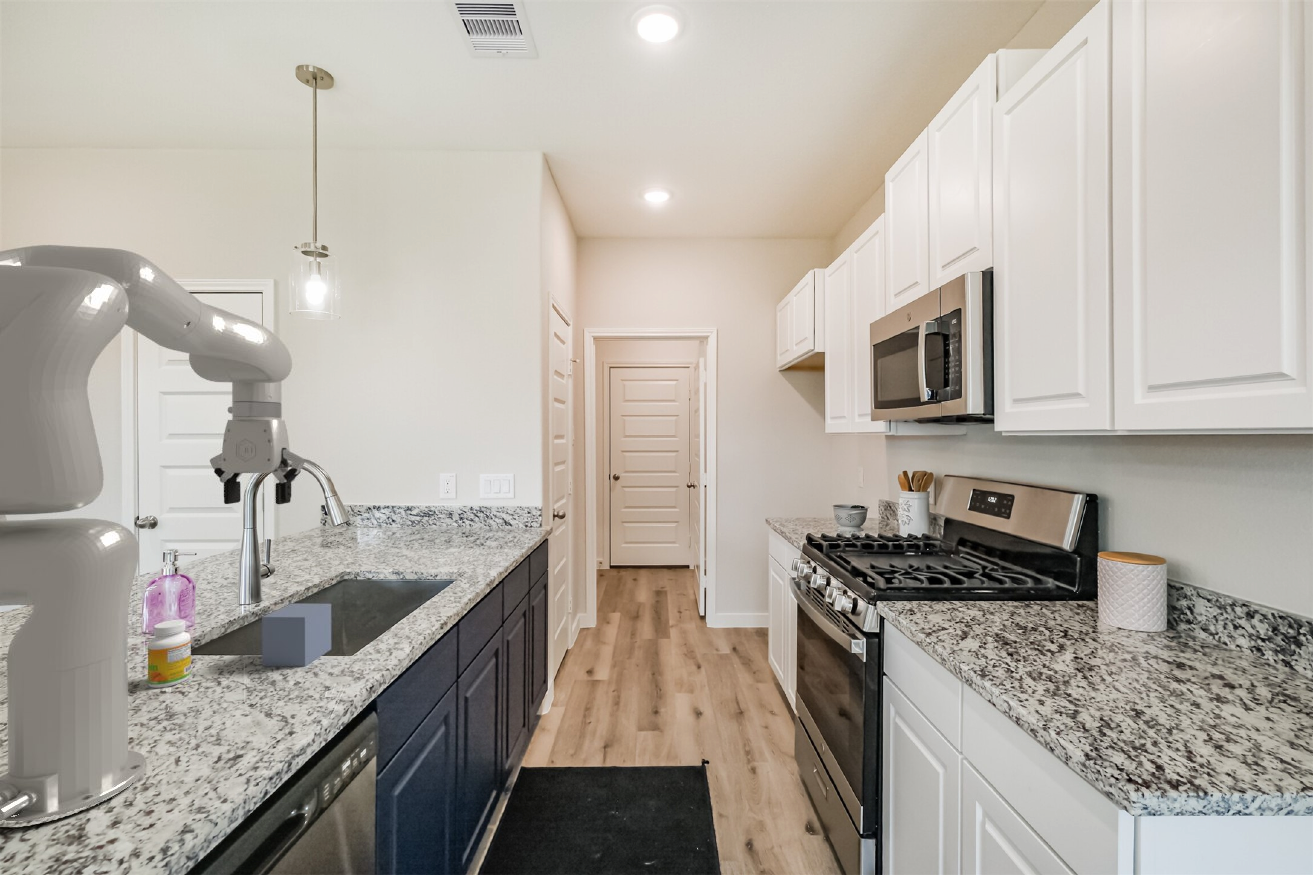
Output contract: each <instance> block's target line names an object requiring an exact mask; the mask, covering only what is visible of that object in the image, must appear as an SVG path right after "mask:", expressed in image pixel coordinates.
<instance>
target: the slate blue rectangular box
mask: <svg viewBox="0 0 1313 875" xmlns="http://www.w3.org/2000/svg"><path fill="white" fill-rule="evenodd" d="M261 635H262V636H261V639H262V641H261V642H262V643H261V648H262V651H261V654H262V655H261V656H262V658H261V665H262V667H307V666H308V665H310V664H311V663H313V662H314V661H317V659H319V658H321V657H322V656H324V655H325V654H326V653H328V652H329V651H331V650H332V603H290V604H287V605H285V606H283V607H281V608H279V609H276V610H274V611H272V612H270V613H268V614H266V615H263V616H261Z"/></svg>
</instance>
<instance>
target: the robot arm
mask: <svg viewBox="0 0 1313 875" xmlns="http://www.w3.org/2000/svg"><path fill="white" fill-rule="evenodd" d="M125 326H127V327H128V328H131V329H133V331H136V332H137V333H138V334H140V335H141V336H144V337H146V338H147V339H148V340H150V341H152V342H154V343H155V344H156V345H158V346H160V347H162V348H165V349H167V350H168V349H169V350H172V351H176V352H180V353H185V354H189V355H188V362H189V365H190V367H191V370H193V372H194V373H195V374H196V375H197V376H199V377H200V378H201V379H204V380H207V381H209V382H214V383H231V388H232V389H231V390H232V391H231V397H232V398H231V400H232V401H231V403H232V404H231V406H229V407H227V412H228V414H232V416H231V417H232V419H227V422H226V424H225V429H224V433H223V440H222V449H221V453H218V454H217V455H215V456H213V457H212V458H210V459H209V462H210V464H211V467H212V469H213V473H214V474H215V475H216V477H218V478H219V482H220V483H222V484H223V503H224V505H230V504H237V503H238V504H239V503H240V502H241V500H242V499H241V481H238V480H239V478H240V477H241V476H242V474H268V473H271V474H272V475H273V476H274V477H275V478H276V479H277V480H276V481H278V482H276V484H275V504H276V505H283V504H289V503H291V501H292V500H291V499H292V482H294V481H296V477H298V476H299V474H300V473H301V471H302V469H303V467H304V464H305V463H306V460H305V458H303V457H302V456H299V455H297V454H296V453H294V452H292V451H290V442H289V434H288V430H287V425H286V422H285V420H283V419H282V415H283V412H282V410H283V408H282V381H284V380H286V379H287V377H289V375H290V374H291V371H292V368H293V361H292V360H293V359H292V356H291V354H290V351H289V349H288V348H287V346H286V345H285V344H284V342H283V341H282V340H281V339H280V338H279V337H278V336H277V335H276V334H275V333H273V331H271V330H269V328H267V327H265V326H264V325H262V324H260V323H259V322H255V321H254V320H251V319H249V318H246V317H243V316H240V315H237V314H235V313H232V312H230V311H226V310H224V309H222V308H219V307H216V306H213V305H209V304H207V303H205V302H202V301H201V300H199V299H198V298H197V297H195V295H193V294H192V293H190V292H189V291H188V290H187V289H185V288H184V287H183V286H181V285H180V284H179V283H178V282H177V281H176V280H175V279H174V278H172V277H171V276H170V275H168V274H167V273H166V272H165V271H163V270H162V269H161V268H159V267H158V265H156V264H155V263H153V261H151V260H149V259H148V258H146V257H145V256H142V255H140V254H139V253H136V252H133V251H130V250H126V249H118V248H111V247H109V248H108V247H96V246H95V247H93V246H77V245H76V246H73V245H72V246H71V245H58V244H57V245H56V244H41V245H40V244H39V245H32V246H31V245H30V246H23V247H19V248H18V247H17V248H13V249H6V250H0V607H2V606H3V607H4V606H33V610H32V612H31V614H29V616H28V617H27V619H26V620H25V622H24V623H23V624H22V625H21V627H20V628H19V629H18V631H17V632H16V633H15V634H14V636H13V637H12V639H11V641H10V644H9V646H8V650H7V655H6V656H7V657H6V672H7V674H6V680H7V684H6V685H7V686H6V687H7V691H6V694H7V695H6V696H7V698H6V700H7V772H6V773H5V774H3V775H1V776H0V821H2V820H6V821H27V820H35V819H40V818H43V817H44V818H45V817H51V816H53V815H60V814H65V813H66V812H70V811H74V810H75V809H80V808H83V807H85V806H88V805H92V804H94V803H97V802H98V801H101V800H103V799H105V798H107V797H109V796H111V795H113V794H115V793H117V792H119V791H121V790H122V789H124V788H126V787H127V786H129V785H130V784H131V783H133V782H134V781H135V780H137V779H138V778H139V777H140V776H141V775H142V774H144V773H145V771H146V769H147V768H146V767H147V760H146V757H145V755H144V754H142V753H141V752H139V751H135V750H129V687H128V686H129V682H128V680H129V674H128V673H129V672H128V671H129V670H128V669H129V665H128V661H129V660H128V659H129V658H128V657H129V656H128V655H129V654H128V652H129V650H128V646H129V645H128V644H129V643H128V642H129V641H128V640H129V639H128V637H129V636H128V633H129V627H128V626H129V624H128V622H129V611H130V610H129V608H130V599H131V594H132V593H131V592H132V590H133V588H132V587H133V583H134V579H135V577H136V571H137V568H138V562H139V559H140V557H139V556H140V546H139V542H138V539H137V537H136V535H135V534H134V533H133V532H132V531H131V530H130V529H129V528H128V527H126V526H124V525H122V524H120V523H119V522H115V521H111V520H106V519H100V518H99V519H98V518H84V517H83V518H78V517H77V518H74V517H73V518H70V517H69V518H40V519H39V518H38V519H20V520H18V519H17V520H15V519H14V520H7V517H6V516H10V515H12V516H13V515H39V514H53V513H63V512H71V511H74V510H78V509H81V508H83V507H86V506H88V505H91V504H92V503H93V502H94V501H96V499H97V498H98V497H99V496H100V495H101V492H102V491H103V489H104V488H103V487H104V480H105V479H104V478H105V477H104V470H103V463H102V457H101V453H100V448H99V443H98V438H97V434H96V429H95V425H94V420H93V415H92V411H91V407H90V401H89V400H90V399H89V394H88V382H89V376H90V374H91V372H92V368H93V366H94V364H95V363H96V361H97V359H98V358H99V356H100V355H101V354H102V352H103V351H104V349H105V348H106V347H107V346H108V344H110V343H111V342H112V341H113V340H114V338H116V337H117V335H118V334H119V333H121V331H122V329H123V328H124V327H125ZM290 462H291V463H292V464H291V467H290ZM143 772H144V773H143ZM142 776H143V775H142ZM142 776H141V777H142ZM141 777H140V778H141ZM140 778H139V779H140ZM139 779H138V780H139ZM138 780H137V781H138ZM18 814H19V815H18ZM13 815H17V816H15V817H11V816H13Z"/></svg>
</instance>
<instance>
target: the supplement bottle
mask: <svg viewBox="0 0 1313 875" xmlns="http://www.w3.org/2000/svg"><path fill="white" fill-rule="evenodd" d="M185 630H186V620H184V619H172V620H170V619H169V620H165V621H162V622H159V623H156V624H155V625H153V636H154V637H152V639H150V640H149V641H148V643H147V685H148V687H150V688H154V689H157V688H158V689H159V688H166V687H172V686H175V685H178V684H181V683H183V682H185V681H187V680H188V679H190V677H191V675H192V666H191V665H192V659H191V658H192V655H191V654H192V651H191V650H192V649H191V648H192V647H191V646H192V645H191V643H192V642H191V640H192V637H191V634H190V633H188V632H185Z"/></svg>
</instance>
